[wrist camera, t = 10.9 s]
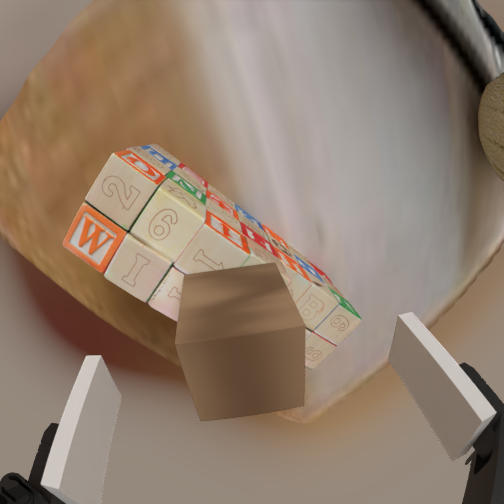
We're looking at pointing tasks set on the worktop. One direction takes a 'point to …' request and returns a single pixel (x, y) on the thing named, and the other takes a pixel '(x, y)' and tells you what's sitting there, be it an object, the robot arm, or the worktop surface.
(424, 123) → the worktop surface
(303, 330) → the walnut block
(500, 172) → the cantaloupe
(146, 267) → the stack of blocks
